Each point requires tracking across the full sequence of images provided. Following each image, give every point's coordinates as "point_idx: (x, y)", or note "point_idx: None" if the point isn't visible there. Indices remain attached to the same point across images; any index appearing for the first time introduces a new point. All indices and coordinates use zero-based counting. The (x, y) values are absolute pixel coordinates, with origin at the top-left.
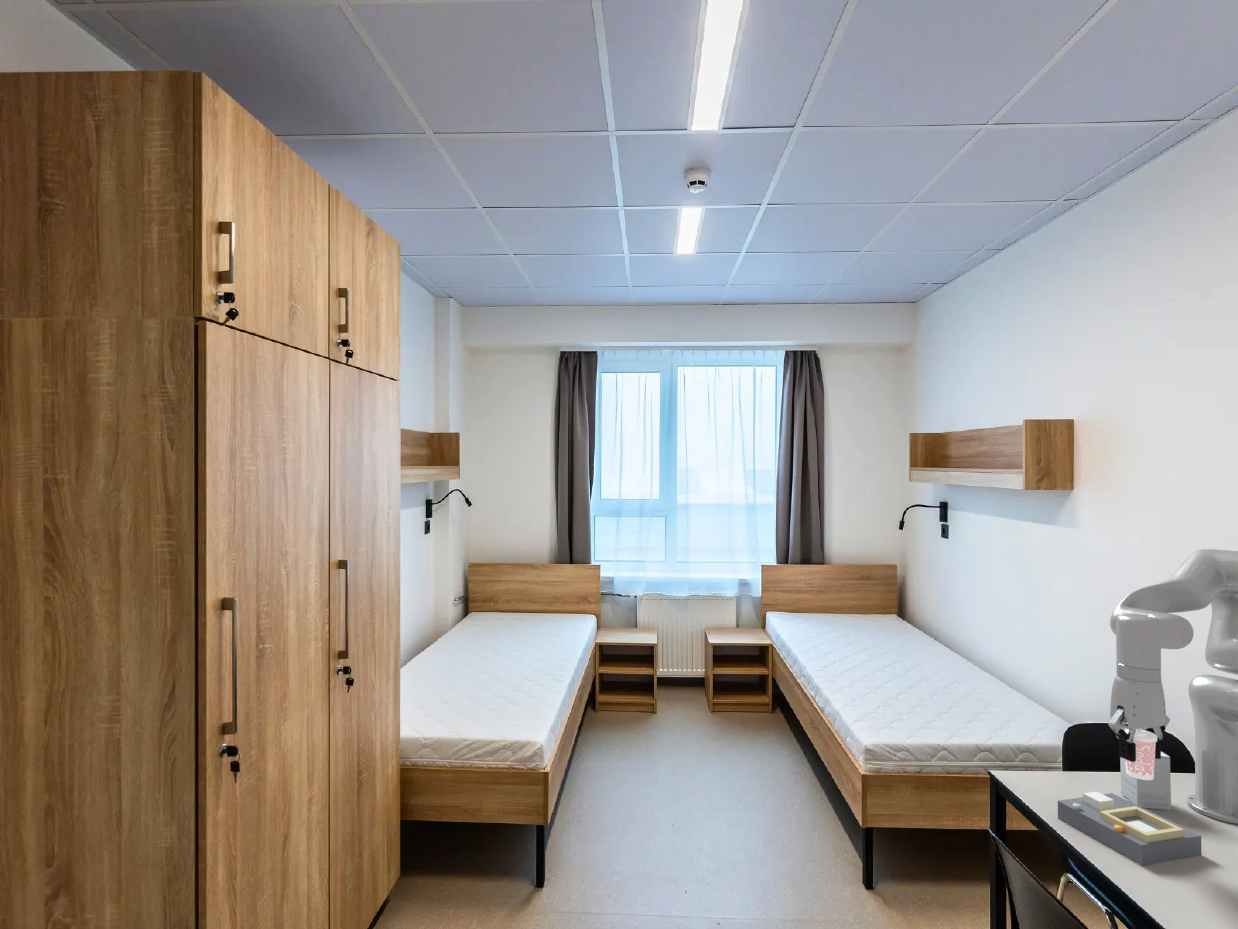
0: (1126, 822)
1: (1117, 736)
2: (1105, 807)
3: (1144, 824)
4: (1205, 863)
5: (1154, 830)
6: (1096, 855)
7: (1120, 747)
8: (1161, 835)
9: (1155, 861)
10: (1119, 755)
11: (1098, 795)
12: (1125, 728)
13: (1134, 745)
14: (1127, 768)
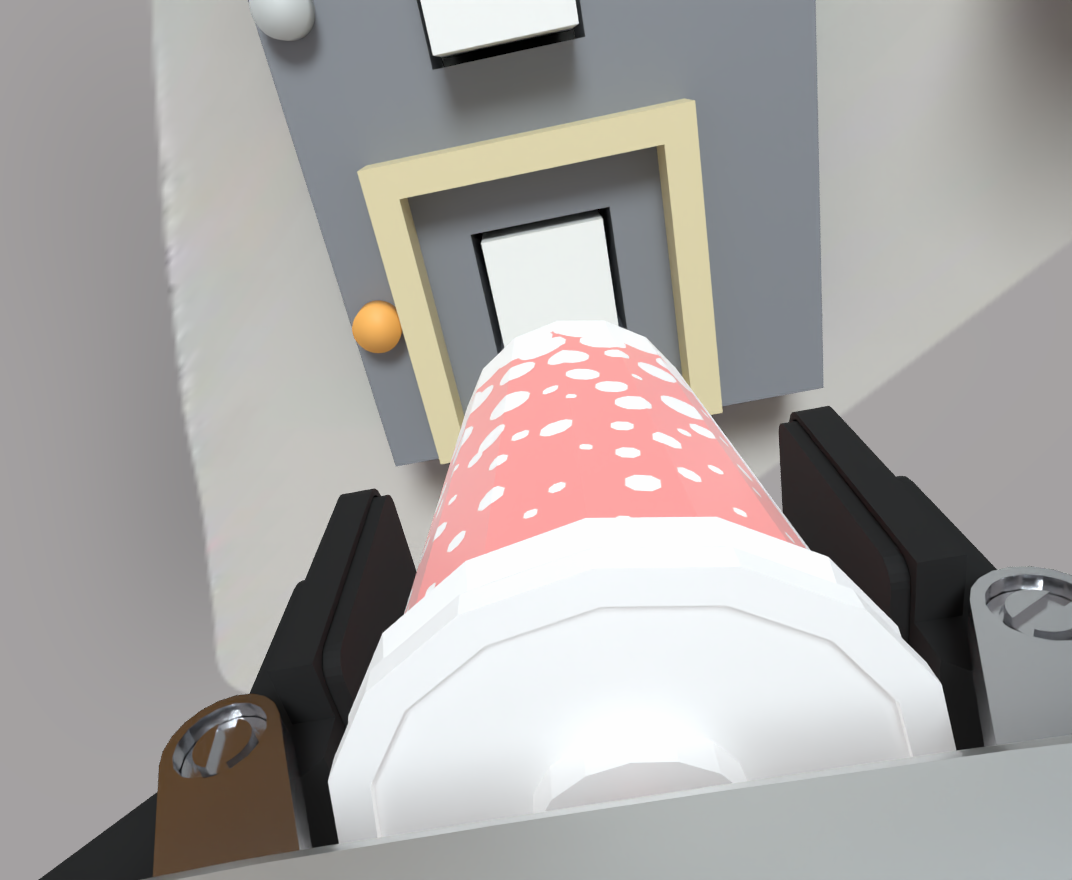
0: (500, 240)
1: (180, 760)
2: (493, 44)
3: (597, 269)
4: (734, 410)
5: None
6: (242, 333)
7: (278, 641)
8: None
9: None
10: (343, 499)
11: None
12: (568, 610)
13: None
14: (459, 433)
